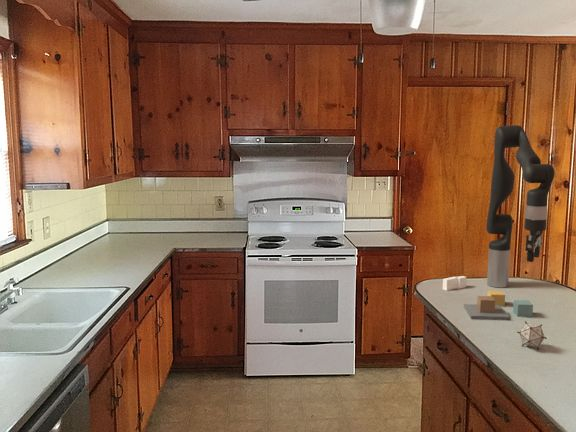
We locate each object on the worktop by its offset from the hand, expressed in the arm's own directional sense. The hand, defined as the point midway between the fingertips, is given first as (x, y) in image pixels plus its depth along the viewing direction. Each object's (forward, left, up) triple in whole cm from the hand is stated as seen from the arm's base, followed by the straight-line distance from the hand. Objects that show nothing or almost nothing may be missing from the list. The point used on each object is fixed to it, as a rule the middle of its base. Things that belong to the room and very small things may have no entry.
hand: (533, 259), depth 201 cm
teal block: (-2, -2, -23) cm, 23 cm away
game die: (+30, -9, -23) cm, 39 cm away
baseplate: (-2, -16, -23) cm, 28 cm away
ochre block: (-14, -9, -23) cm, 28 cm away
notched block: (-35, -21, -23) cm, 47 cm away
